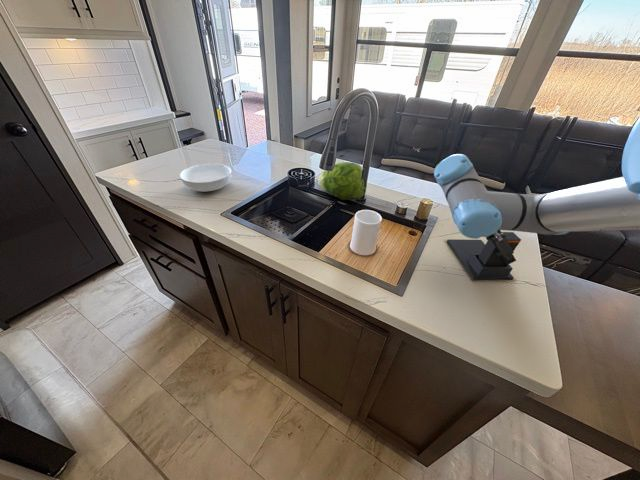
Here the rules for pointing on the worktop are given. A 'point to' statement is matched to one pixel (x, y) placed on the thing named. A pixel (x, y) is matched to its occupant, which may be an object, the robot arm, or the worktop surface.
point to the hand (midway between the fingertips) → (506, 257)
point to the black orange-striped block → (489, 251)
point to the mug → (365, 232)
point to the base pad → (477, 261)
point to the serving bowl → (206, 177)
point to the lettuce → (343, 181)
